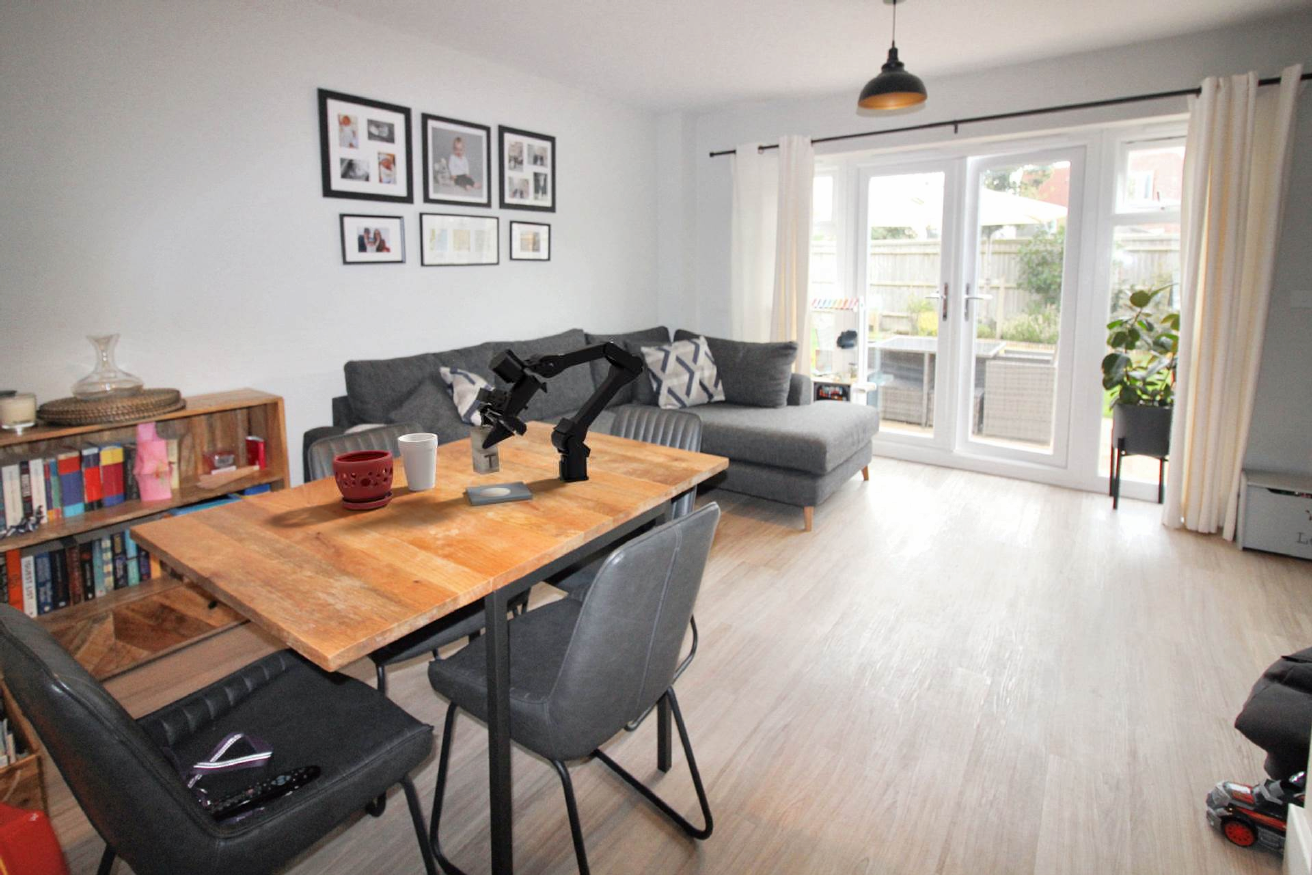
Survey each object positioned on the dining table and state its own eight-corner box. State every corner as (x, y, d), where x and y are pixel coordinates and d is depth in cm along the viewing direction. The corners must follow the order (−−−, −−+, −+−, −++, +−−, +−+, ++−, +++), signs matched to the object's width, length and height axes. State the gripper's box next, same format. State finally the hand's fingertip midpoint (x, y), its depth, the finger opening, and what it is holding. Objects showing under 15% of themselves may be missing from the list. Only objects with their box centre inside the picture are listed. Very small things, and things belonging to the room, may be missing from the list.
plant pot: (408, 498, 180) (403, 450, 177) (371, 515, 168) (365, 464, 165) (363, 493, 184) (359, 446, 181) (324, 509, 172) (318, 459, 169)
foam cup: (429, 493, 183) (425, 442, 180) (395, 491, 185) (390, 441, 182) (447, 482, 192) (443, 433, 189) (414, 480, 194) (410, 432, 191)
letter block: (490, 467, 184) (487, 424, 182) (499, 471, 181) (496, 426, 178) (473, 471, 181) (469, 427, 179) (482, 475, 178) (479, 430, 175)
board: (522, 484, 190) (522, 480, 190) (532, 498, 179) (532, 494, 179) (466, 491, 185) (465, 487, 185) (473, 505, 174) (472, 501, 174)
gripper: (481, 370, 185) (441, 419, 182) (511, 379, 170) (468, 433, 167) (512, 397, 191) (474, 445, 188) (544, 409, 176) (503, 461, 173)
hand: (479, 446), depth 179 cm, fingers closed on letter block, 5 cm apart
